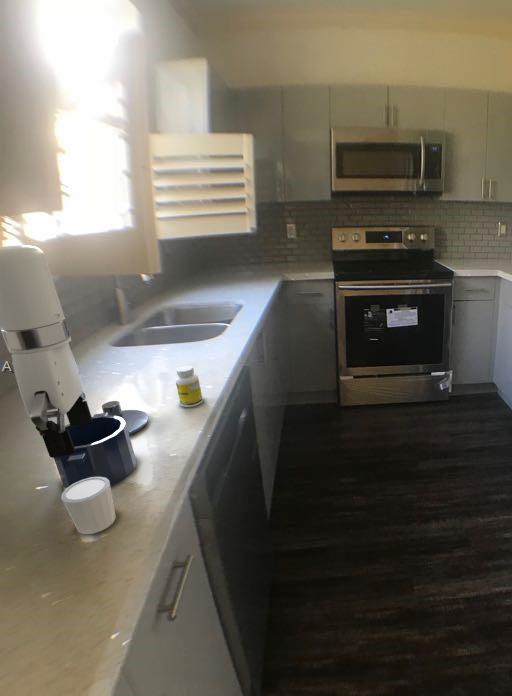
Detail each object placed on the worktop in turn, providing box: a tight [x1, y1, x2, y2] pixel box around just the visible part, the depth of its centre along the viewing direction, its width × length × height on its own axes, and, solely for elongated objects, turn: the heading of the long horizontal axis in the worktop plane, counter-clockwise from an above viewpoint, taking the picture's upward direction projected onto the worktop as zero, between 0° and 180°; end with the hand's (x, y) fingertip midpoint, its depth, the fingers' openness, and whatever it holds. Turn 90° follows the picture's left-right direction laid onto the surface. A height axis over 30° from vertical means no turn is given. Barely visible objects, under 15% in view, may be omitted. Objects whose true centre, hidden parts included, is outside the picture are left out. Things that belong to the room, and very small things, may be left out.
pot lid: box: [101, 400, 149, 436], centre depth 106 cm, size 14×14×6 cm
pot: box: [53, 412, 137, 490], centre depth 89 cm, size 13×18×10 cm
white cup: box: [60, 477, 116, 535], centre depth 76 cm, size 7×7×7 cm
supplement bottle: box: [175, 365, 204, 408], centre depth 117 cm, size 5×5×10 cm
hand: (73, 438), depth 72 cm, fingers open, 9 cm apart
